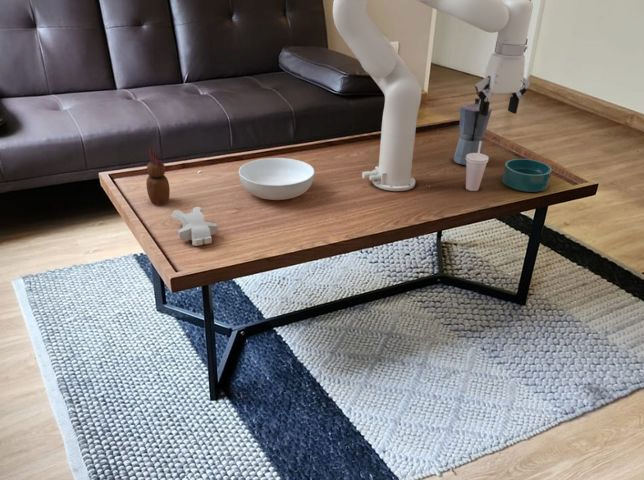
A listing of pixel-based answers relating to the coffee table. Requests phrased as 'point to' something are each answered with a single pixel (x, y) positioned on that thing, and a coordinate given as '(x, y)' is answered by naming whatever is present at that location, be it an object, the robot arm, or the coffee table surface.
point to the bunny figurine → (195, 227)
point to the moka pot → (470, 131)
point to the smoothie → (475, 169)
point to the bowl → (526, 175)
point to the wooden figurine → (157, 181)
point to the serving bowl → (276, 178)
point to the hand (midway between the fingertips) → (497, 113)
